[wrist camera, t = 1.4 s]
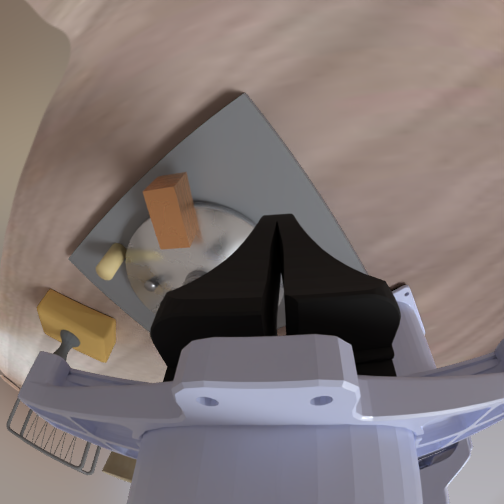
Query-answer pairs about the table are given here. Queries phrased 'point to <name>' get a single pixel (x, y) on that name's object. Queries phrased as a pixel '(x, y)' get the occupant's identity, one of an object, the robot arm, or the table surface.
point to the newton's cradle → (78, 468)
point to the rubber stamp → (77, 326)
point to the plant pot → (120, 466)
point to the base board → (216, 198)
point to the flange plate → (185, 259)
